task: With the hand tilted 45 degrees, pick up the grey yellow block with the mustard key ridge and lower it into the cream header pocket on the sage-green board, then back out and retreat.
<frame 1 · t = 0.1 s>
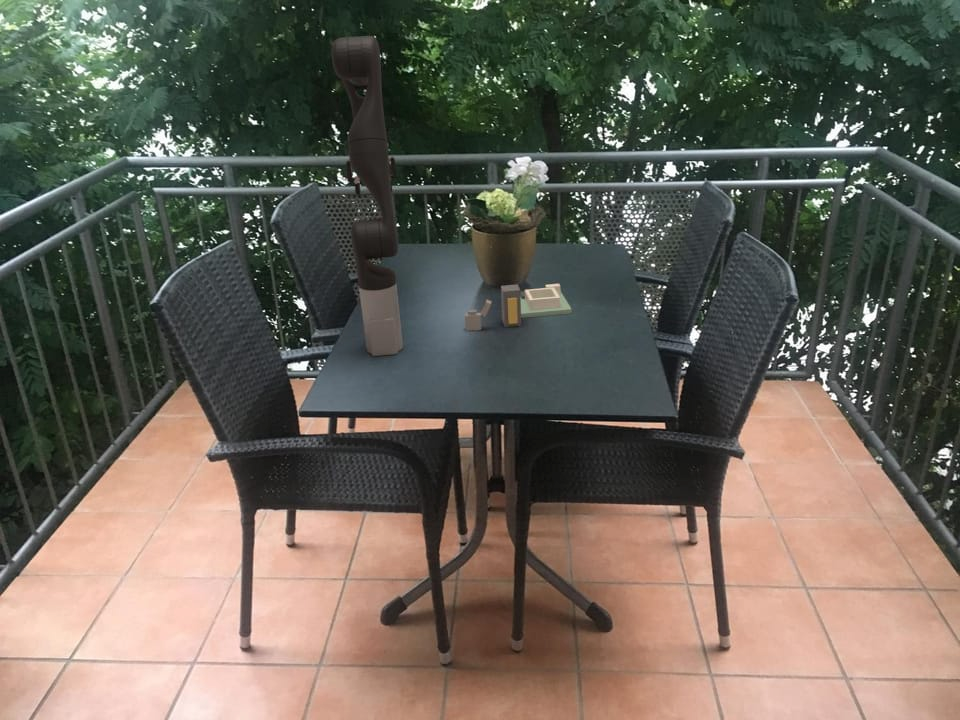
hand: (374, 194, 225), 29 cm above the table, tool pointing down, fingers open, 8 cm apart
lighter: (479, 329, 205), on the table
board: (541, 305, 218), on the table
grey yellow block: (511, 323, 207), on the table
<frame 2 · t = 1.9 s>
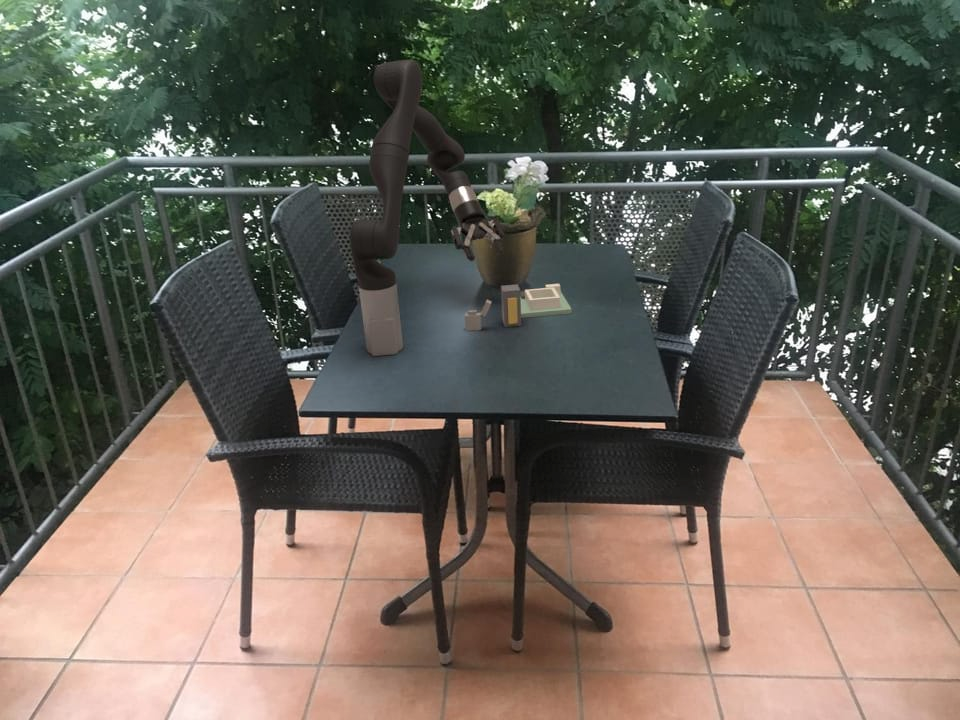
hand: (486, 256, 211), 15 cm above the table, tool tilted 45°, fingers open, 8 cm apart
nothing on the table moved.
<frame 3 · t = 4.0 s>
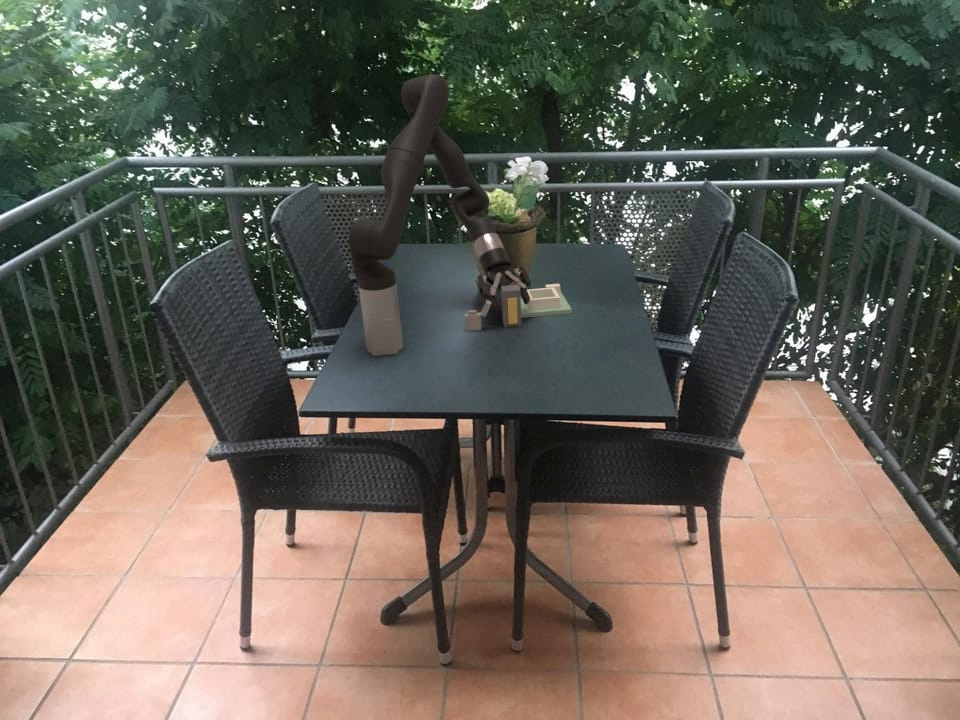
hand: (513, 306, 204), 5 cm above the table, tool tilted 45°, fingers open, 8 cm apart
lighter: (479, 329, 205), on the table, touching gripper
everything else where it was.
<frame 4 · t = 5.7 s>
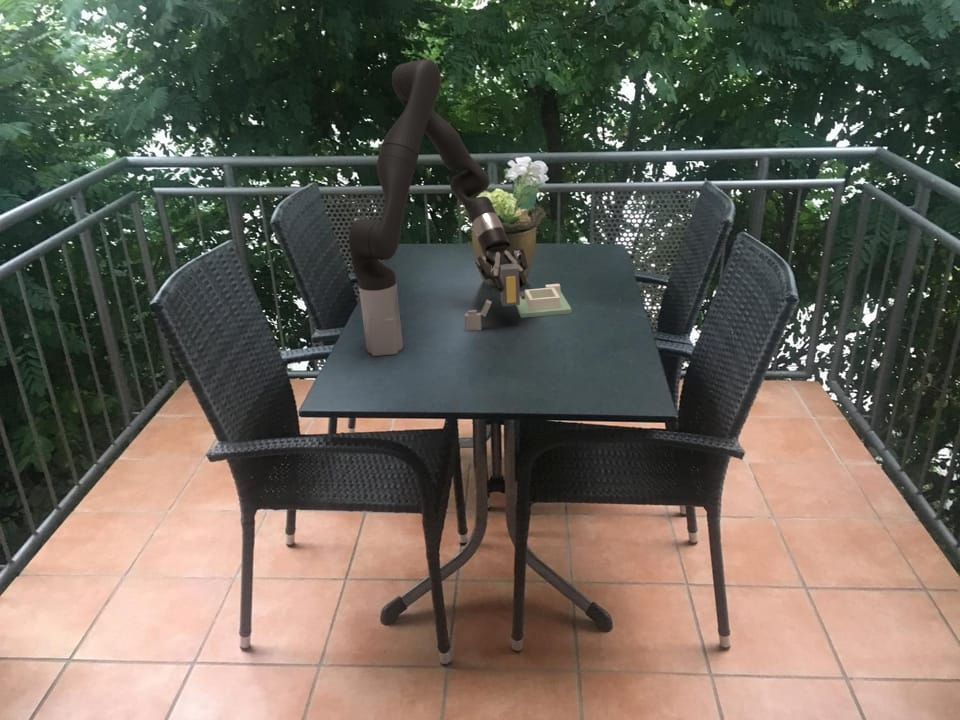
hand: (512, 288, 201), 11 cm above the table, tool tilted 45°, fingers closed on grey yellow block, 5 cm apart
lighter: (479, 329, 205), on the table
grey yellow block: (510, 302, 204), point 6 cm above the table, touching gripper
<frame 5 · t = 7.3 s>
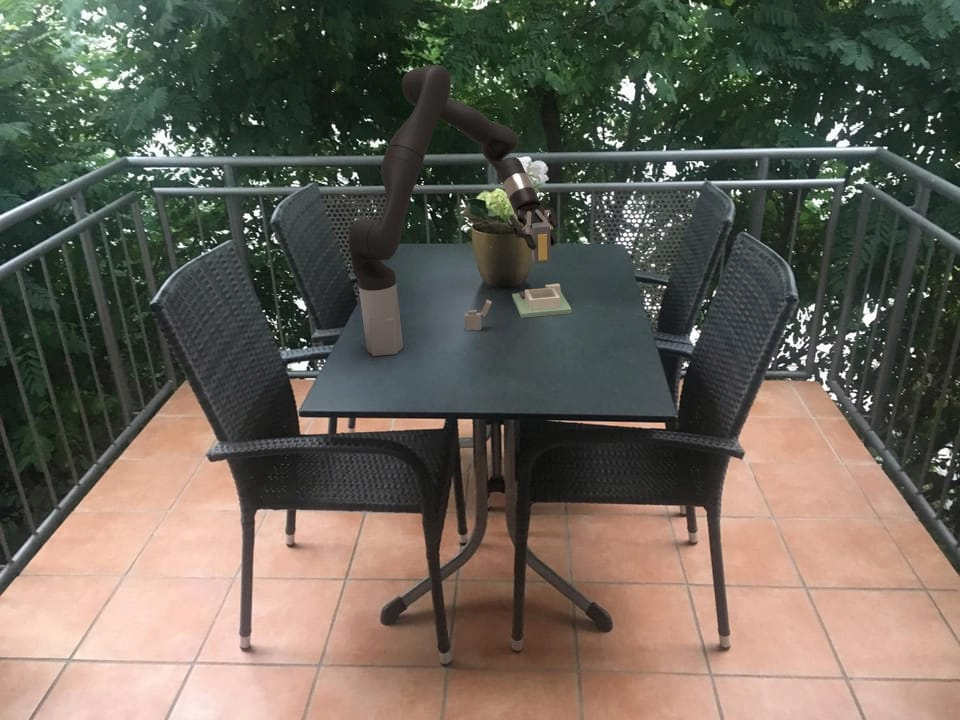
hand: (544, 246, 207), 18 cm above the table, tool tilted 45°, fingers closed on grey yellow block, 5 cm apart
grey yellow block: (541, 260, 210), point 14 cm above the table, touching gripper
everything else where it was.
when the fingers open (7 cm above the table, at t = 9.8 s): grey yellow block drops 1 cm, resting on board.
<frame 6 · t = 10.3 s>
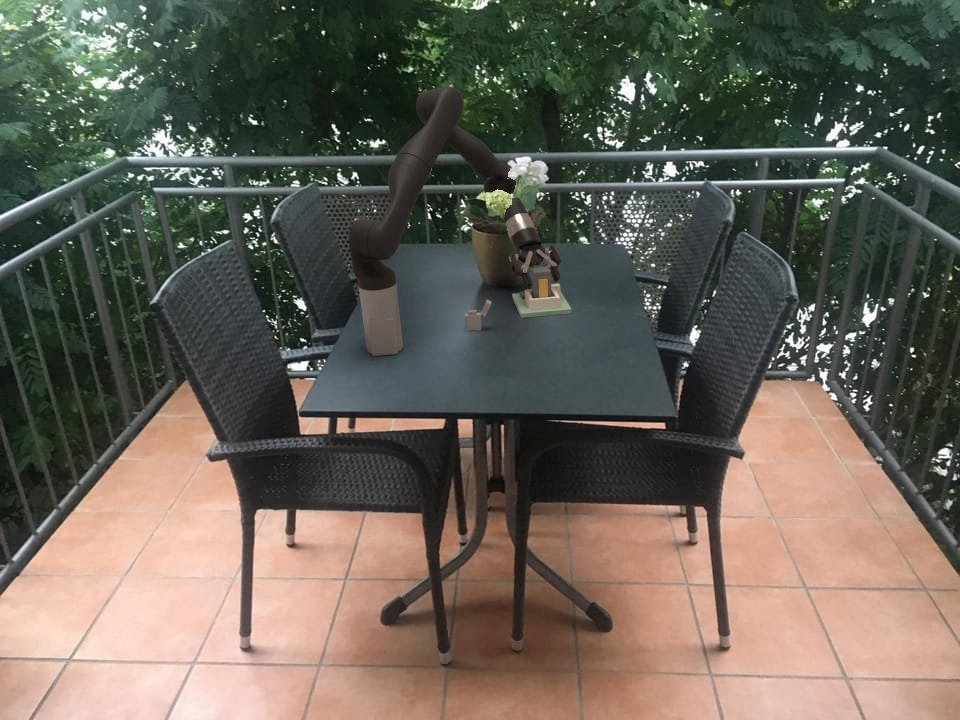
hand: (544, 283, 212), 8 cm above the table, tool tilted 45°, fingers open, 8 cm apart
grey yellow block: (541, 303, 216), point 1 cm above the table, touching board
everything else where it was.
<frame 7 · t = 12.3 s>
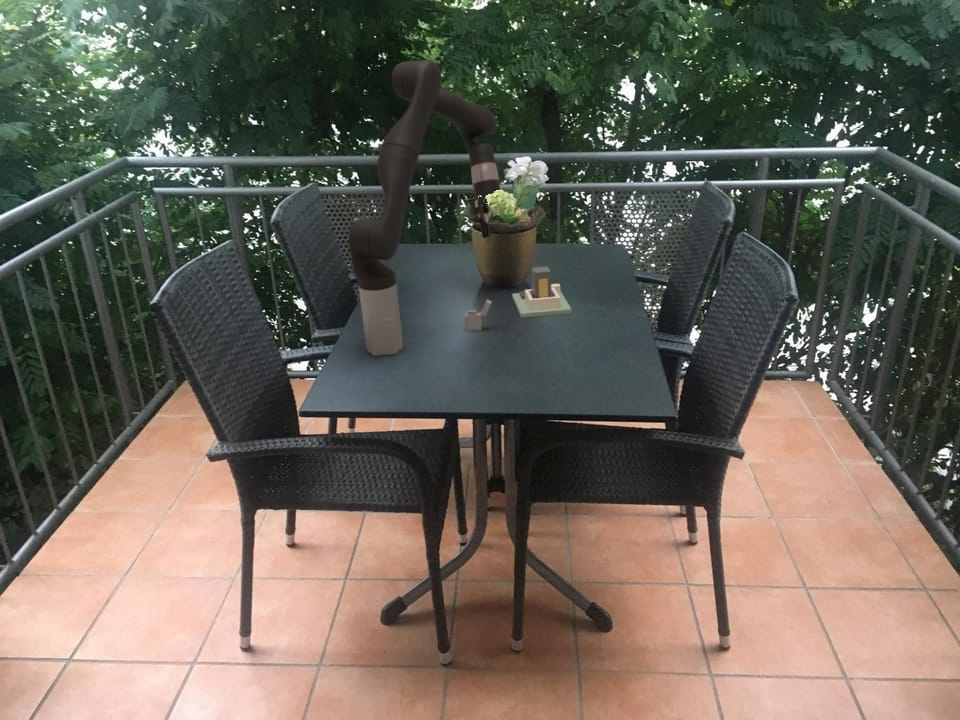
hand: (494, 238, 219), 17 cm above the table, tool tilted 25°, fingers open, 8 cm apart
nothing on the table moved.
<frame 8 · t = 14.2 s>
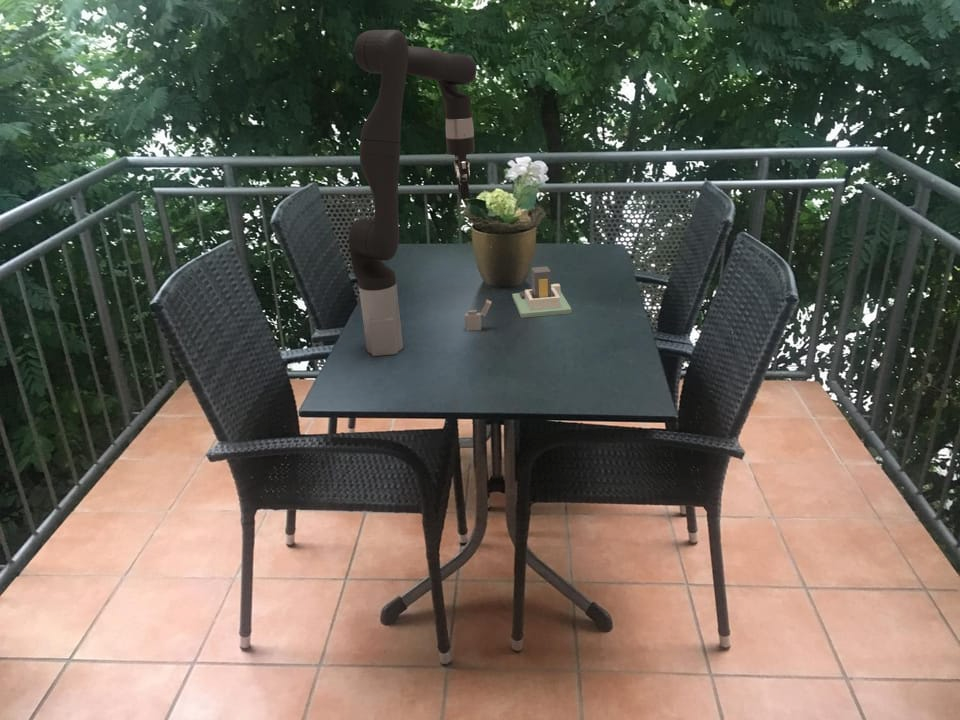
hand: (463, 195, 214), 30 cm above the table, tool pointing down, fingers open, 8 cm apart
nothing on the table moved.
at the end: grey yellow block 0.1 cm from the target spot on the board, point 1.2 cm above the board's base; grey yellow block tilted 0°; the gripper is holding nothing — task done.
